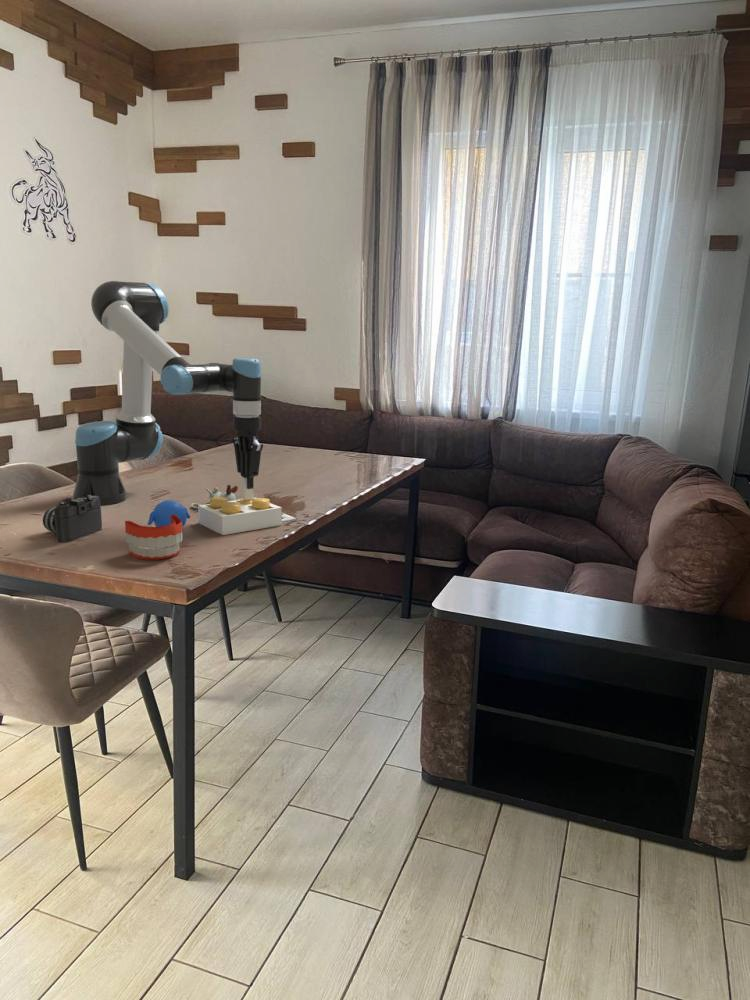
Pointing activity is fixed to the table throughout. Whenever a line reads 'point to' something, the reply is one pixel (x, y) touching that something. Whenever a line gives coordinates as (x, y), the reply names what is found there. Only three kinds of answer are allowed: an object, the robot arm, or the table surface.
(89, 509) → the camera
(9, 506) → the table surface
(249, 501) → the button far right
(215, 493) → the toy dog
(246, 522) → the button board
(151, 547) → the toy
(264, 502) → the button near right
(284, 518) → the card
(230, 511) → the button near left
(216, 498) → the button far left
